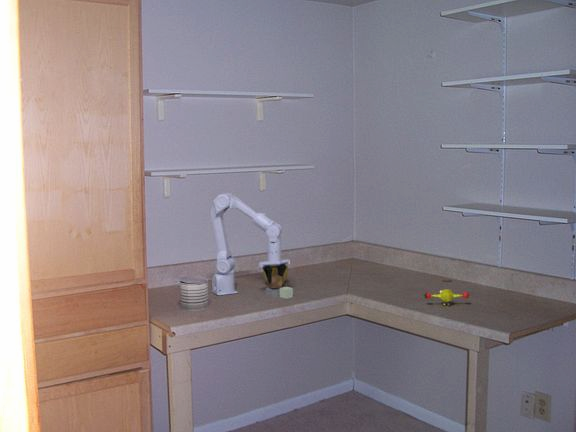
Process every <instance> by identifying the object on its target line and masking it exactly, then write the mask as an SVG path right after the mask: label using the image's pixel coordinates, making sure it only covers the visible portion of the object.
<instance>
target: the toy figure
mask: <svg viewBox="0 0 576 432" xmlns="http://www.w3.org/2000/svg"><path fill="white" fill-rule="evenodd" d="M432 297H434V298H440V300H441V301H443V305H445V306H446V305H447V306H448V307H450V302H451V301H452V300H454V298H459V297H462V298H464V299H468V298H469V297H470V294H469V293H468V292H467V291H466V292H463V293H462V294H460V293H458V294H454V293H453V291H452V290H451V289H448V288H445V289H442V290H440V291H439V294H431V293H430V292H426V293H425V292H424V298H425V299H427V300H429V299H430V298H432Z"/></svg>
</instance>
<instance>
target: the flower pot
mask: <svg viewBox="0 0 576 432" xmlns="http://www.w3.org/2000/svg"><path fill="white" fill-rule="evenodd" d="M286 266H287V268H286V270H285V272H284V274H283V278H282V285H284V283H285V281H286V280H287V277H288V272H289V271H288V270H289V265H288V264H286ZM270 267H271V268H272V275H278V270H277V266H270ZM262 271H263V277H264V281H265V282H266V283H267V284H268V280H267V276H266V274H265V271H264V270H263V269H262ZM272 275H271V276H272Z"/></svg>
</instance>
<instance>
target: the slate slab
mask: <svg viewBox="0 0 576 432" xmlns="http://www.w3.org/2000/svg"><path fill="white" fill-rule="evenodd" d="M280 288H281V287H278V288H271V287H266V288H265V293H264V294H265V295H266V296H269V297H271V298H277V297H280Z"/></svg>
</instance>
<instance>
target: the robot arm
mask: <svg viewBox="0 0 576 432" xmlns="http://www.w3.org/2000/svg"><path fill="white" fill-rule="evenodd" d="M228 209H230V210H231V209H235V210H238V211H240V212H241V213H242V214H244V215H245V216H247V217H249V218H250V219H251V220H252V223H253V224H254V225H255V226H256V227H257V228H259V229H261V230H262V231H263V232H265V233H266V235H267V261H266V260H265V261H260V262H258V268H262V271H263V270H264V271H265V274H266V276H267V280H268V283H271V280H272V278H271V275H272V268H271V267H270V266H277V270H278V275H279V276H281V277H282V278H283V274H284V272H285V270H286V268H287V266H289V265H291V260H290V259H282V241H281V239H282V238H281V234H282V232H283V228H282V225H280V223H278V222H275V220H272V219H270V218H269V217H267V214H266V213H264V212H263V213H262V212H256V211H255V210H254V209H252V208H251V207H250V206H249V205H248V204H246V203H245V202H244V201H243V200H241V199H240V198H239V197H237V196H235V195H234V194H233V193H231V192H226V193H223V194H221V193H220V194H219V195H218V196H217V197H216V198H215V199H213V203H212V207H211V210H210V219H211V224H212V229H213V230H212V231H213V235H214V240H215V247H216V249H217V254H216V265H215V267H216V271H217V273H214V274H213V275H212V278H211V280H212V281H211V283H212V284H211V285H212V290H211V292H212V293H213V294H215V295H217V296H225V295H226V296H227V295H233V294H238V293H239V292H238V291H237V290H235V289H236V288H235V286H236V285H235V270H234V268H235V267H236V264H237V263H236V260H235V258H234V257H233V254H232V252H231V250H230V247H229V242H228V235H227V232H226V231H227V230H226V225H225V221H224V215H225V213H226V211H228ZM286 265H287V266H286ZM268 283H267V284H268Z"/></svg>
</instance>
